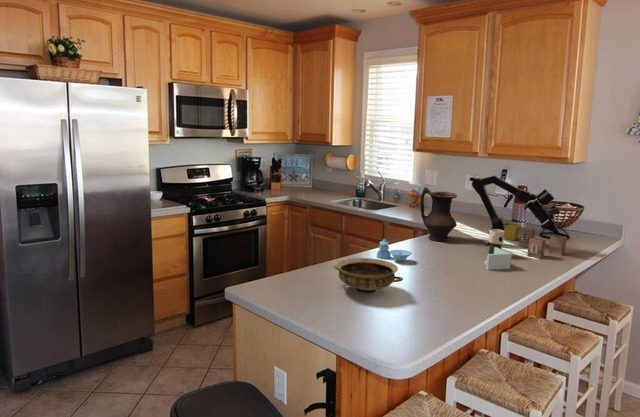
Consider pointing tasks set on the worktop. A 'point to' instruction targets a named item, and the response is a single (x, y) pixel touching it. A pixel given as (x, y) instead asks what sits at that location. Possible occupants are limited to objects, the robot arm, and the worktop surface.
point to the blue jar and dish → (391, 252)
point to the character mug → (495, 239)
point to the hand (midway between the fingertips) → (558, 233)
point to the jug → (438, 215)
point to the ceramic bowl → (367, 274)
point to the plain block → (557, 245)
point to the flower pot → (511, 231)
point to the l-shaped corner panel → (498, 260)
